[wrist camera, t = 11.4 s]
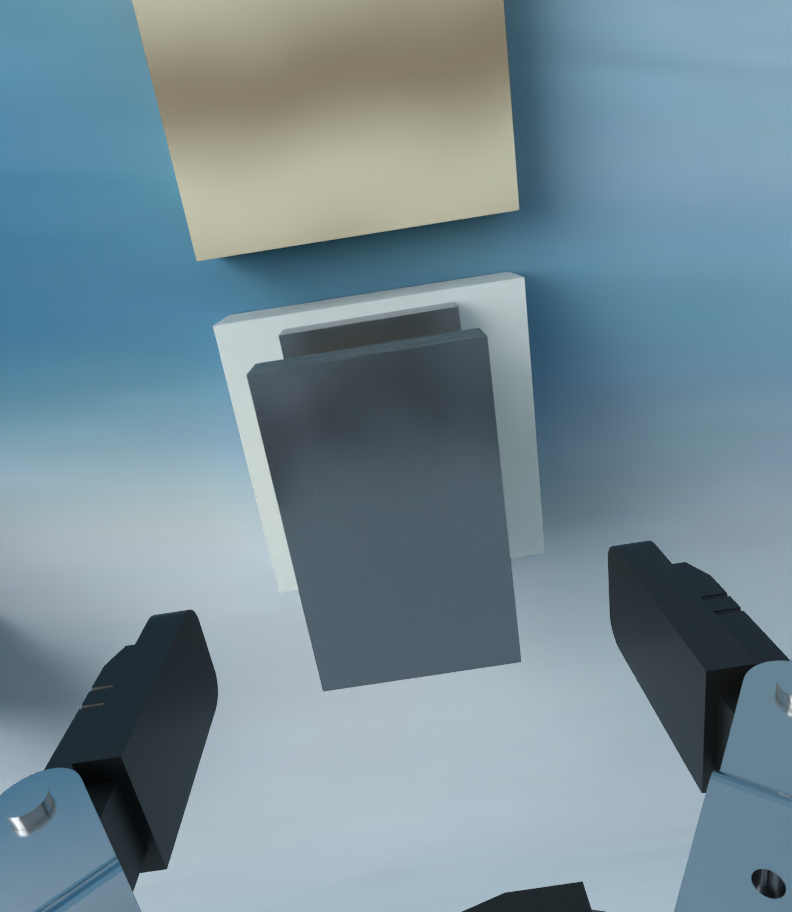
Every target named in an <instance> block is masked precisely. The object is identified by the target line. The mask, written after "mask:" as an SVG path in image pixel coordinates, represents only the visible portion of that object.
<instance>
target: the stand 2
mask: <svg viewBox="0 0 792 912" xmlns="http://www.w3.org/2000/svg"><path fill="white" fill-rule="evenodd" d="M449 302H454V303H455V304H456V305H457V306H458V308H459V316H460V325H461V330H467V329H474V328H480V329H481V330H482V331H483V332H484V333H485V334H486V335H487V338H488V348H489V357H490V367H491V376H492V386H493V396H494V405H495V415H496V425H497V434H498V444H499V453H500V463H501V473H502V482H503V492H504V501H505V511H506V521H507V530H508V540H509V550H510V559H512V558H519V557H525V556H532V555H539V554H545V545H544V532H543V519H542V505H541V492H540V479H539V465H538V452H537V439H536V425H535V412H534V399H533V385H532V372H531V359H530V345H529V332H528V319H527V305H526V292H525V279H524V277H522V276H520V275H517V274H515V273H512V272H509V271H507V272H501V273H494V274H488V275H482V276H475V277H469V278H462V279H456V280H450V281H443V282H437V283H430V284H424V285H418V286H411V287H405V288H399V289H392V290H386V291H379V292H373V293H367V294H360V295H354V296H348V297H341V298H335V299H328V300H322V301H316V302H309V303H303V304H297V305H290V306H284V307H277V308H271V309H265V310H258V311H252V312H246V313H239V314H233V315H229V316H227V317H226V318H224V319H223V320H221V321H220V322H218V323H217V324H215V325H214V326H213V328H214V332H215V336H216V340H217V344H218V348H219V352H220V356H221V360H222V364H223V368H224V372H225V376H226V380H227V384H228V389H229V393H230V397H231V401H232V405H233V409H234V413H235V417H236V421H237V425H238V429H239V433H240V437H241V441H242V445H243V449H244V453H245V457H246V461H247V465H248V469H249V473H250V477H251V481H252V485H253V489H254V493H255V497H256V501H257V505H258V509H259V513H260V517H261V521H262V525H263V529H264V533H265V537H266V541H267V545H268V549H269V553H270V557H271V562H272V566H273V570H274V574H275V578H276V582H277V586H278V590H279V593H281V592H288V591H295V590H298V586H297V582H296V577H295V573H294V569H293V565H292V561H291V557H290V553H289V549H288V544H287V540H286V536H285V532H284V528H283V524H282V520H281V516H280V512H279V507H278V503H277V499H276V495H275V491H274V487H273V483H272V479H271V474H270V470H269V466H268V462H267V458H266V454H265V450H264V446H263V441H262V437H261V433H260V429H259V425H258V421H257V417H256V413H255V409H254V404H253V400H252V396H251V392H250V388H249V384H248V380H247V376H246V375H247V373H248V372H249V371H250V370H251V369H252V367H253V366H254V365H255V364H256V363H262V362H269V361H275V360H281V359H284V358H283V354H282V349H281V345H280V340H279V334H280V333H281V332H282V331H283V330H284V329H288V328H295V327H301V326H307V325H313V324H319V323H325V322H332V321H338V320H344V319H350V318H356V317H362V316H369V315H375V314H381V313H387V312H393V311H399V310H406V309H412V308H418V307H424V306H430V305H436V304H443V303H449Z"/></svg>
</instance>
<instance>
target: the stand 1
mask: <svg viewBox="0 0 792 912" xmlns="http://www.w3.org/2000/svg"><path fill="white" fill-rule="evenodd" d="M132 2H133V6H134V10H135V14H136V18H137V22H138V26H139V30H140V34H141V39H142V43H143V47H144V51H145V55H146V59H147V63H148V67H149V71H150V75H151V79H152V83H153V87H154V91H155V95H156V99H157V103H158V107H159V111H160V115H161V119H162V123H163V127H164V131H165V135H166V139H167V143H168V147H169V151H170V155H171V159H172V163H173V167H174V171H175V175H176V179H177V183H178V187H179V191H180V195H181V199H182V203H183V207H184V212H185V216H186V220H187V224H188V228H189V232H190V236H191V240H192V244H193V248H194V252H195V256H196V260H197V261H201V260H208V259H214V258H220V257H227V256H233V255H239V254H245V253H252V252H258V251H264V250H271V249H277V248H283V247H290V246H296V245H302V244H308V243H315V242H321V241H327V240H334V239H340V238H346V237H353V236H359V235H365V234H371V233H378V232H384V231H390V230H397V229H403V228H409V227H416V226H422V225H428V224H434V223H441V222H447V221H453V220H460V219H466V218H472V217H479V216H485V215H491V214H497V213H504V212H510V211H516V210H519V199H518V186H517V172H516V159H515V146H514V132H513V119H512V106H511V92H510V79H509V66H508V52H507V39H506V26H505V13H504V0H132Z"/></svg>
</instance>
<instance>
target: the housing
mask: <svg viewBox="0 0 792 912" xmlns="http://www.w3.org/2000/svg"><path fill="white" fill-rule="evenodd" d="M279 340H280V345H281V349H282V354H283V358H284V359H281V360H275V361H269V362H262V363H256V364H255V365H254V366H253V367H252V369H251V370H250V371H249V372H248V373H247V375H246V376H247V380H248V384H249V388H250V392H251V396H252V400H253V404H254V409H255V413H256V417H257V421H258V425H259V429H260V433H261V437H262V441H263V446H264V450H265V454H266V458H267V462H268V466H269V470H270V474H271V479H272V483H273V487H274V491H275V495H276V499H277V503H278V507H279V512H280V516H281V520H282V524H283V528H284V532H285V536H286V540H287V544H288V549H289V553H290V557H291V561H292V565H293V569H294V573H295V577H296V582H297V586H298V590H299V594H300V598H301V602H302V606H303V610H304V615H305V619H306V623H307V627H308V631H309V635H310V639H311V643H312V648H313V652H314V656H315V660H316V664H317V668H318V672H319V676H320V680H321V685H322V689H323V691H329V690H336V689H343V688H349V687H356V686H363V685H369V684H376V683H383V682H390V681H396V680H403V679H410V678H417V677H423V676H430V675H437V674H443V673H450V672H457V671H464V670H470V669H477V668H484V667H490V666H497V665H504V664H511V663H517V662H521V655H520V646H519V636H518V627H517V617H516V607H515V598H514V588H513V578H512V569H511V559H510V550H509V540H508V530H507V521H506V511H505V501H504V492H503V482H502V473H501V463H500V453H499V444H498V434H497V425H496V415H495V405H494V396H493V386H492V376H491V367H490V357H489V348H488V338H487V335H486V334H485V333H484V332H483V331H482V330H481V329H480V328H474V329H467V330H461V325H460V316H459V308H458V306H457V305H456V304H455V303H454V302H449V303H443V304H436V305H430V306H424V307H418V308H412V309H406V310H399V311H393V312H387V313H381V314H375V315H369V316H362V317H356V318H350V319H344V320H338V321H332V322H325V323H319V324H313V325H307V326H301V327H295V328H288V329H284V330H283V331H282V332H281V333H280V334H279Z"/></svg>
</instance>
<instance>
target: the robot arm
mask: <svg viewBox="0 0 792 912" xmlns="http://www.w3.org/2000/svg"><path fill="white" fill-rule="evenodd" d="M608 574H609V604H610V620H611V626H612V630H613V634H614V637H615V640H616V643H617V645H618V647H619V649H620V651H621V653H622V655H623V656H624V658H625V660H626V662H627V663H628V665H629V667H630V669H631V670H632V672H633V674H634V676H635V677H636V679H637V681H638V683H639V684H640V686H641V688H642V690H643V691H644V693H645V695H646V697H647V698H648V700H649V702H650V703H651V705H652V707H653V709H654V710H655V712H656V714H657V716H658V717H659V719H660V721H661V723H662V724H663V726H664V728H665V730H666V731H667V733H668V735H669V737H670V738H671V740H672V742H673V744H674V745H675V747H676V749H677V751H678V752H679V754H680V756H681V758H682V759H683V761H684V763H685V765H686V766H687V768H688V770H689V772H690V773H691V775H692V777H693V778H694V780H695V782H696V784H697V785H698V787H699V789H700V791H701V792H702V793H706V795H705V799H704V802H703V806H702V810H701V813H700V817H699V821H698V824H697V828H696V832H695V836H694V839H693V843H692V847H691V850H690V854H689V858H688V861H687V865H686V869H685V873H684V876H683V880H682V884H681V887H680V891H679V895H678V898H677V902H676V906H675V909H674V912H792V661H790V660H789V659H788V658H787V656H786V655H785V654H784V653H783V652H782V651H781V650H780V649H779V648H778V647H777V646H776V645H775V644H774V643H773V642H772V641H771V639H770V638H769V637H768V636H767V635H766V634H765V633H764V632H763V631H762V630H761V629H760V628H759V627H758V626H757V625H756V623H755V622H754V621H753V620H752V619H751V618H750V617H749V616H748V615H747V614H746V613H745V612H744V611H741V609H740V606H739V605H738V604H737V603H736V602H735V601H734V600H733V599H732V598H731V597H730V596H729V597H728V596H727V593H726V592H725V590H724V589H723V588H722V587H721V586H720V585H719V584H718V583H717V582H716V581H715V580H714V579H713V578H712V577H711V576H710V575H709V574H707V573H705V572H703V571H701V570H699V569H697V568H695V567H693V566H692V565H690V564H688V563H686V562H683V563H677V564H672V563H671V562H670V561H669V560H668V559H667V558H666V556H665V555H664V554H663V553H662V552H661V551H660V549H659V548H658V547H657V546H656V545H655V544H654V543H653V542H652V541H644V542H638V543H631V544H624V545H618V546H612V547H610V549H609V552H608ZM217 699H218V685H217V678H216V673H215V670H214V666H213V663H212V660H211V657H210V654H209V651H208V648H207V644H206V641H205V638H204V635H203V632H202V629H201V625H200V622H199V619H198V617H197V615H196V613H195V612H194V611H193V610H185V611H178V612H172V613H165V614H159V615H153V616H151V617H150V618H149V620H148V622H147V623H146V625H145V627H144V629H143V631H142V633H141V635H140V636H139V638H138V640H137V642H136V644H135V645H129V646H125V647H124V648H123V649H122V650H121V651H120V652H119V653H118V654H117V655H116V656H115V657H113V658H112V659H111V660H110V661H109V662H108V663H107V664H106V665H105V666H104V667H103V669H102V671H101V673H100V674H99V676H98V678H97V680H96V681H95V683H94V685H93V686H92V691H90V692H89V693H88V695H87V697H86V699H85V700H84V702H83V704H82V709H79V711H78V712H77V714H76V716H75V718H74V719H73V721H72V723H71V724H70V726H69V728H68V730H67V731H66V733H65V735H64V737H63V738H62V740H61V742H60V743H59V745H58V747H57V749H56V750H55V752H54V754H53V756H52V757H51V759H50V761H49V762H48V764H47V766H46V768H45V769H44V771H40V772H37V773H35V774H33V775H30V776H28V777H26V778H24V779H22V780H21V781H19V782H17V783H16V784H14V785H13V786H11V787H10V788H9V789H7V790H6V791H5V792H3V793H2V794H1V795H0V912H141V909H140V907H139V905H138V903H137V901H136V898H135V896H134V894H133V891H134V888H135V885H136V882H137V879H138V876H139V873H143V872H150V871H157V870H164V869H167V867H168V864H169V860H170V857H171V854H172V851H173V847H174V844H175V841H176V838H177V834H178V831H179V828H180V824H181V821H182V818H183V815H184V811H185V808H186V805H187V802H188V798H189V795H190V792H191V788H192V785H193V782H194V779H195V775H196V772H197V769H198V765H199V762H200V759H201V756H202V752H203V749H204V746H205V743H206V739H207V736H208V733H209V729H210V726H211V723H212V720H213V716H214V713H215V710H216V706H217ZM462 912H604V911H598V910H591V907H590V904H589V900H588V897H587V894H586V891H585V888H584V885H583V882H576V883H570V884H563V885H556V886H549V887H542V888H535V889H528V890H521V891H514V892H507V893H503V894H501V895H499V896H497V897H494V898H492V899H490V900H488V901H485V902H483V903H481V904H478V905H476V906H474V907H472V908H469V909H467V910H465V911H462Z"/></svg>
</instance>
